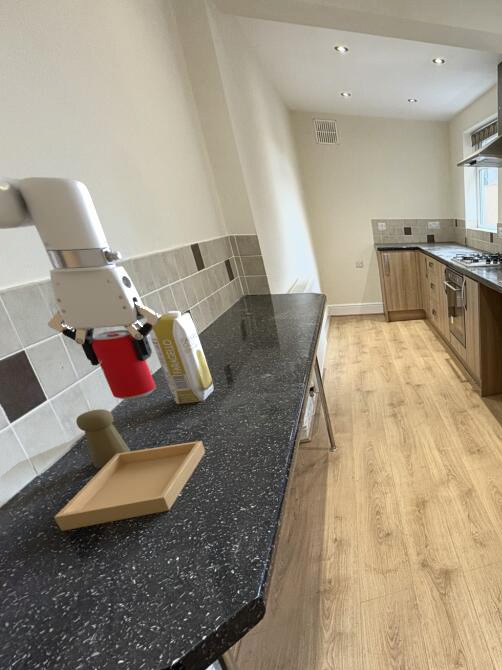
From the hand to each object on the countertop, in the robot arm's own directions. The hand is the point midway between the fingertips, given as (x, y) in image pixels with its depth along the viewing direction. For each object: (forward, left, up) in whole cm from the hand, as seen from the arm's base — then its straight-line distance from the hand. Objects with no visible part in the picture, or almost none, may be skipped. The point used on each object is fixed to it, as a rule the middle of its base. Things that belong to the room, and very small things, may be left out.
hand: (122, 359), depth 75 cm
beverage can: (0, 0, -7) cm, 7 cm away
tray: (0, -8, -22) cm, 24 cm away
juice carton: (-4, +35, -23) cm, 41 cm away
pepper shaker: (-10, +5, -23) cm, 25 cm away
